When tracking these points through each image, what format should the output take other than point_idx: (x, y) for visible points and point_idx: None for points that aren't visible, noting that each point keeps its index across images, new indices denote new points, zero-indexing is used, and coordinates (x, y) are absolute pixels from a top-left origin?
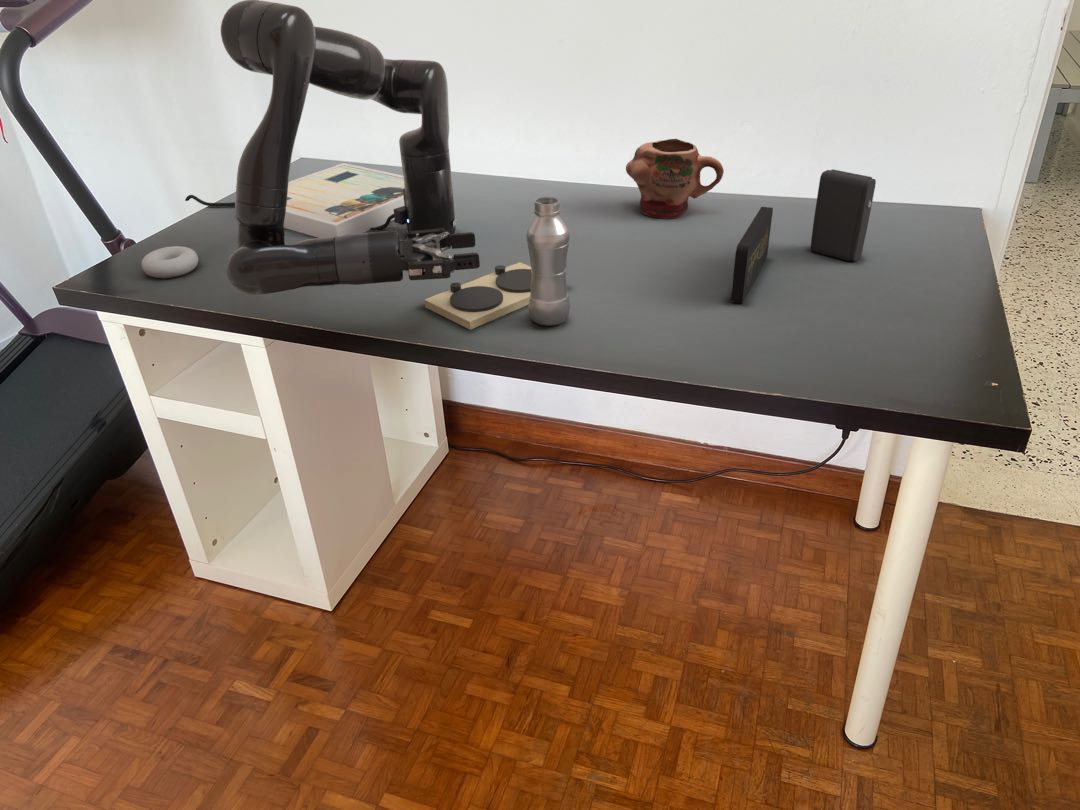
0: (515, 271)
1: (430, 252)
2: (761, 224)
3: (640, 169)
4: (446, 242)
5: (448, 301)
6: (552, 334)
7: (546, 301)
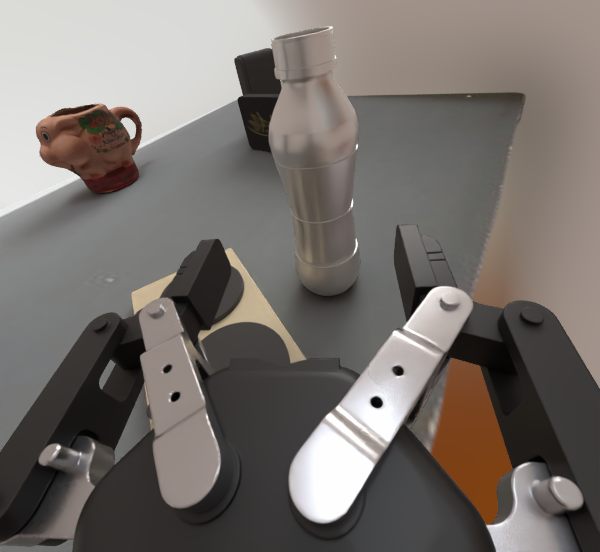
0: None
1: (424, 384)
2: (279, 94)
3: (71, 145)
4: (189, 331)
5: None
6: (373, 280)
7: (354, 247)
